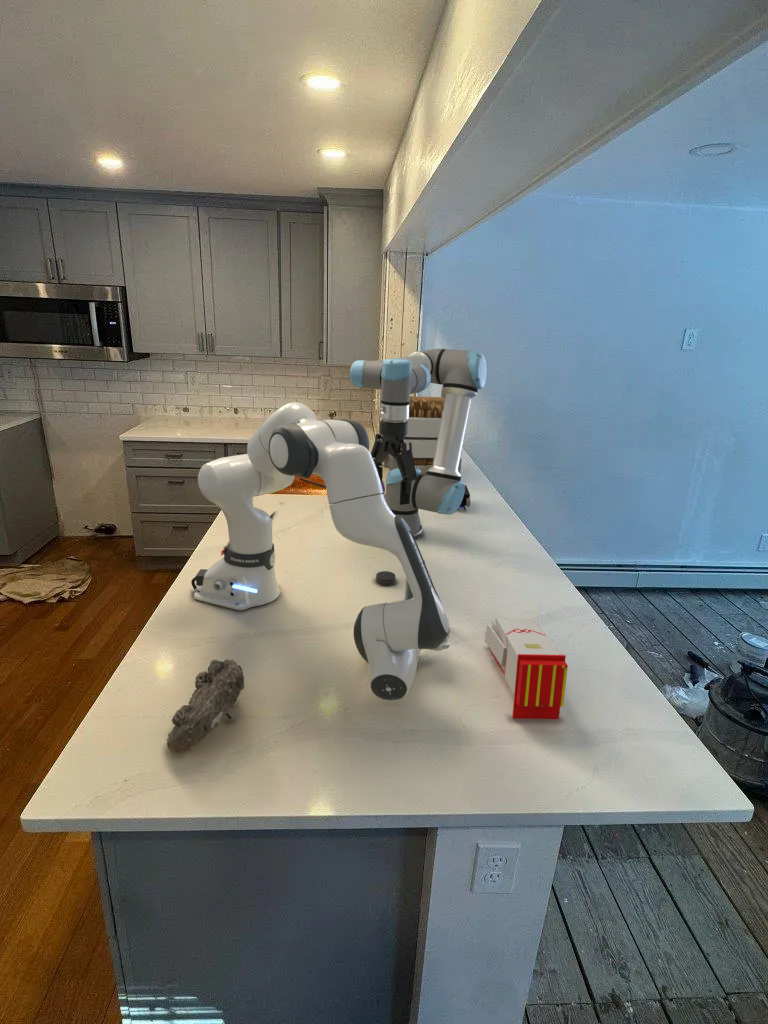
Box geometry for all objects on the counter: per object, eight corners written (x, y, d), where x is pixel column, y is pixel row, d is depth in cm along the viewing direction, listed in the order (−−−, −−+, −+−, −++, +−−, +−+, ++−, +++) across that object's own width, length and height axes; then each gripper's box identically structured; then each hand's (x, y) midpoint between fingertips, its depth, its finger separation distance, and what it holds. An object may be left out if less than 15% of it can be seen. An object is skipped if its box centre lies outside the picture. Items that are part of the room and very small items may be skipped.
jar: (410, 621, 144) (414, 567, 139) (399, 612, 148) (402, 559, 143) (426, 616, 147) (430, 563, 142) (415, 608, 151) (418, 555, 146)
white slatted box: (382, 463, 289) (386, 382, 275) (445, 464, 293) (451, 384, 279) (390, 482, 257) (394, 392, 243) (460, 483, 261) (468, 394, 247)
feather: (282, 505, 226) (285, 501, 225) (264, 529, 199) (267, 524, 198) (279, 503, 225) (281, 499, 225) (260, 526, 199) (263, 522, 198)
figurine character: (470, 515, 225) (465, 499, 238) (472, 498, 221) (467, 483, 235) (453, 515, 224) (449, 499, 238) (455, 497, 221) (451, 482, 234)
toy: (531, 603, 136) (576, 661, 106) (526, 655, 139) (569, 725, 109) (481, 602, 135) (512, 660, 106) (477, 654, 138) (507, 724, 109)
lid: (397, 578, 167) (397, 572, 166) (392, 587, 162) (393, 581, 161) (378, 575, 168) (378, 569, 167) (373, 584, 163) (373, 578, 162)
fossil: (192, 660, 117) (244, 628, 112) (224, 691, 120) (276, 661, 115) (142, 746, 98) (202, 712, 93) (182, 779, 101) (242, 748, 96)
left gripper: (450, 637, 119) (454, 606, 132) (355, 625, 122) (368, 595, 135) (448, 663, 121) (452, 629, 134) (354, 650, 125) (367, 619, 137)
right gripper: (357, 412, 157) (355, 486, 164) (410, 430, 137) (405, 512, 144) (380, 411, 161) (377, 482, 168) (434, 428, 141) (428, 508, 148)
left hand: (409, 612), depth 135 cm, fingers open, 8 cm apart
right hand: (390, 496), depth 156 cm, fingers open, 13 cm apart
